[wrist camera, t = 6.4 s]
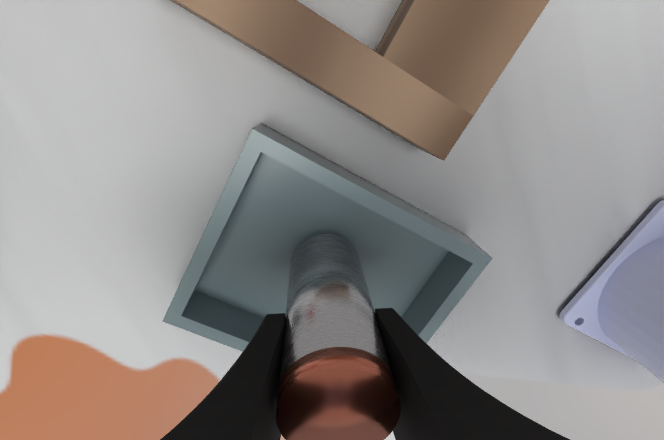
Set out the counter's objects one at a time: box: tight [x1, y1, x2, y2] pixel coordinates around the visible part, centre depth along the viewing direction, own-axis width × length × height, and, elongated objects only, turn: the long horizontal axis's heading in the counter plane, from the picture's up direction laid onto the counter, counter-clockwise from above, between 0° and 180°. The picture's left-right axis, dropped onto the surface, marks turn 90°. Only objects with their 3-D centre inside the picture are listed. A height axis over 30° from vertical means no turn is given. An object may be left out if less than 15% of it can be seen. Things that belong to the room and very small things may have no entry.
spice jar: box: [276, 234, 401, 440], centre depth 12 cm, size 3×3×8 cm
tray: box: [163, 123, 492, 351], centre depth 16 cm, size 11×9×2 cm
